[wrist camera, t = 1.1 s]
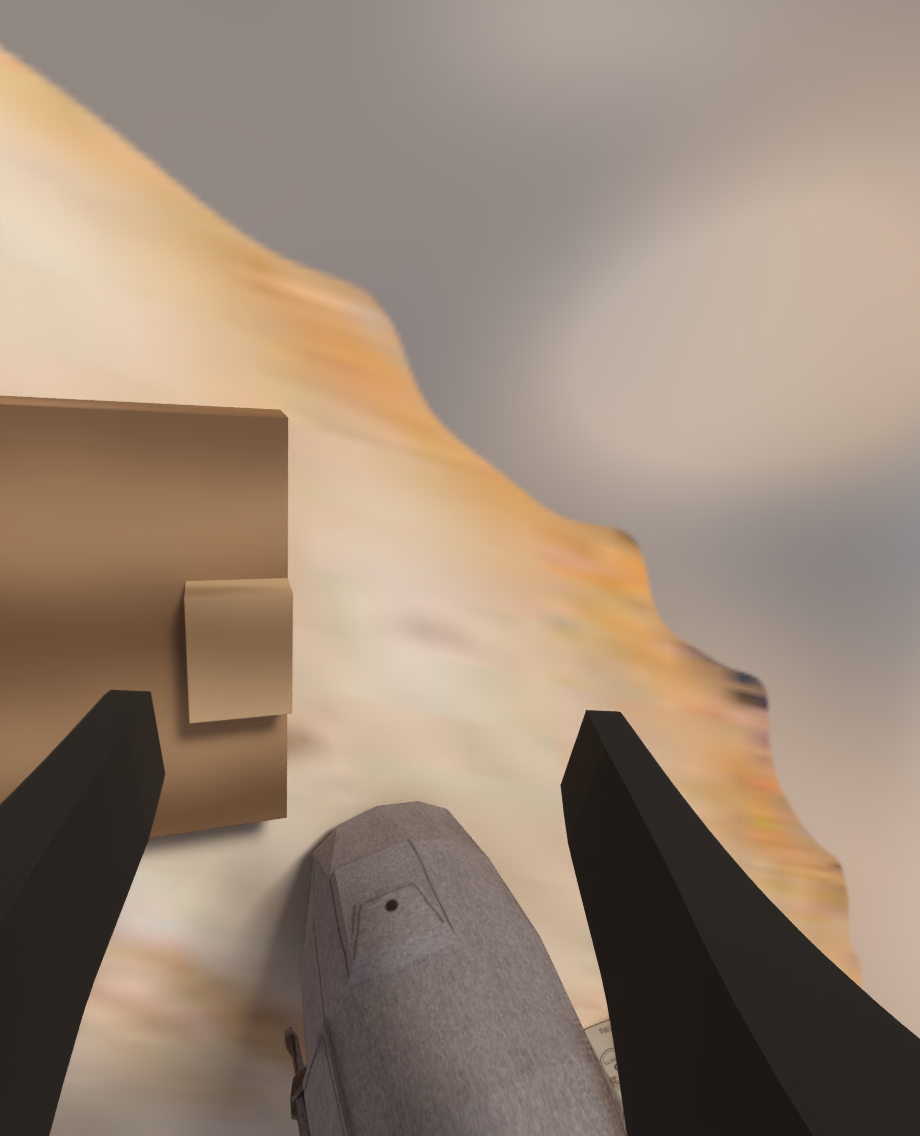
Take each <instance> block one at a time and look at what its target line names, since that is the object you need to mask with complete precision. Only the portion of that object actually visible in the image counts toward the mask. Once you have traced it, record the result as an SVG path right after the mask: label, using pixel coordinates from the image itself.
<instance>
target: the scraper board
mask: <svg viewBox="0 0 920 1136" xmlns="http://www.w3.org/2000/svg"><path fill="white" fill-rule="evenodd" d="M287 577H288V417H287V416H286V415H285V414H284V413H283V412H282V411H281V410H274V409H254V408H234V407H214V406H195V405H175V404H155V403H135V402H115V401H95V400H75V399H55V398H35V397H15V396H0V804H1V803H2V802H3V801H4V800H5V799H6V798H7V797H8V796H9V795H10V794H11V793H12V792H13V791H14V790H15V789H16V788H17V787H18V786H19V785H20V784H21V783H22V782H23V781H24V780H25V779H26V778H27V777H28V776H29V775H30V774H31V773H32V772H33V771H34V770H35V769H36V768H37V766H38V765H39V764H40V763H41V762H42V761H43V760H44V759H45V758H46V757H47V756H48V755H49V754H50V753H51V752H52V751H53V750H54V749H55V748H56V747H57V745H58V744H59V743H60V742H61V741H62V740H63V739H64V738H65V737H66V736H67V735H68V734H69V733H70V732H71V730H72V729H73V728H74V727H75V726H76V725H77V724H78V723H79V722H80V721H81V720H82V718H83V717H84V716H85V715H86V714H87V713H88V712H89V711H90V710H91V709H92V707H93V706H94V705H95V704H96V703H97V702H98V701H99V700H100V699H101V698H102V696H103V695H104V694H106V693H107V692H108V691H110V690H130V691H151V695H152V701H153V707H154V712H155V718H156V724H157V729H158V735H159V741H160V746H161V752H162V758H163V763H164V769H165V778H164V782H163V786H162V790H161V794H160V798H159V802H158V806H157V810H156V814H155V818H154V822H153V825H152V829H151V833H150V836H149V838H151V837H158V836H165V835H172V834H178V833H185V832H192V831H199V830H205V829H212V828H219V827H226V826H232V825H239V824H246V823H253V822H260V821H266V820H273V819H280V818H287V714H291V713H292V631H293V593H292V590H291V587H290V584H289V581H288V578H287Z"/></svg>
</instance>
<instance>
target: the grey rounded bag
mask: <svg viewBox="0 0 920 1136" xmlns="http://www.w3.org/2000/svg"><path fill="white" fill-rule="evenodd" d="M301 983H302V1000H303V1016H304V1033H305V1049H306V1064H305V1065H304V1066H303V1061H302V1056H301V1051H300V1046H299V1041H298V1036H297V1035H296V1034H295V1032H294V1031H293V1029H292V1028H291V1027H290V1028H288V1029H285V1030H284V1031H285V1043H286V1049H287V1050H288V1052H289V1053H290V1055H291V1056H292V1058H293V1064H294V1069H295V1074H296V1076H295V1077H294V1078H293V1083H292V1090H291V1098H290V1102H291V1114H292V1119H295V1120H298V1126H299V1131H300V1136H627V1135H626V1132H625V1130H624V1127H623V1124H622V1122H621V1119H620V1116H619V1113H618V1111H617V1108H616V1105H615V1103H614V1100H613V1097H612V1094H611V1092H610V1089H609V1086H608V1084H607V1081H606V1078H605V1076H604V1073H603V1070H602V1067H601V1065H600V1063H599V1061H598V1059H597V1057H596V1055H595V1053H594V1050H593V1048H592V1046H591V1044H590V1042H589V1040H588V1038H587V1035H586V1033H585V1031H584V1029H583V1027H582V1025H581V1023H580V1021H579V1018H578V1016H577V1014H576V1012H575V1010H574V1008H573V1006H572V1003H571V1001H570V999H569V997H568V995H567V993H566V991H565V989H564V986H563V984H562V982H561V980H560V978H559V976H558V974H557V971H556V969H555V967H554V965H553V963H552V961H551V959H550V956H549V954H548V952H547V950H546V948H545V946H544V944H543V942H542V939H541V937H540V936H539V934H538V933H537V931H536V930H535V928H534V926H533V925H532V923H531V922H530V920H529V919H528V917H527V916H526V914H525V913H524V911H523V910H522V908H521V907H520V905H519V904H518V902H517V901H516V899H515V897H514V896H513V894H512V893H511V891H510V890H509V888H508V887H507V885H506V884H505V882H504V881H503V879H502V878H501V876H500V875H499V873H498V872H497V870H496V869H495V867H494V865H493V864H492V862H491V861H490V859H489V858H488V857H487V856H486V854H485V853H484V852H483V851H482V850H481V849H480V847H479V846H478V845H477V844H476V843H475V841H474V840H473V839H472V838H471V837H470V836H469V834H468V833H467V832H466V831H465V830H464V828H463V827H462V826H461V825H460V824H459V823H458V821H457V820H456V819H455V818H454V817H453V816H452V814H451V813H450V812H449V811H448V810H447V809H444V808H441V807H437V806H433V805H430V804H426V803H422V802H419V801H417V802H408V803H400V804H391V805H383V806H376V807H374V808H372V809H370V810H368V811H366V812H364V813H363V814H361V815H359V816H357V817H355V818H353V819H351V820H349V821H347V822H345V823H343V824H341V825H339V826H337V827H336V828H335V829H334V830H333V831H332V832H331V833H330V834H329V835H328V837H327V838H326V839H325V840H324V841H323V842H322V843H321V844H320V845H319V846H318V847H317V848H316V849H315V850H314V851H313V857H312V872H311V887H310V896H309V905H308V914H307V923H306V931H305V940H304V949H303V958H302V967H301Z"/></svg>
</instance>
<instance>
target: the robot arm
mask: <svg viewBox="0 0 920 1136" xmlns="http://www.w3.org/2000/svg"><path fill="white" fill-rule="evenodd" d="M164 778H165V769H164V763H163V758H162V752H161V746H160V741H159V735H158V729H157V724H156V718H155V712H154V707H153V701H152V695H151V691H130V690H110V691H108V692H107V693H106V694H104V695H103V696H102V698H101V699H100V700H99V701H98V702H97V703H96V704H95V705H94V706H93V707H92V709H91V710H90V711H89V712H88V713H87V714H86V715H85V716H84V717H83V718H82V720H81V721H80V722H79V723H78V724H77V725H76V726H75V727H74V728H73V729H72V730H71V732H70V733H69V734H68V735H67V736H66V737H65V738H64V739H63V740H62V741H61V742H60V743H59V744H58V745H57V747H56V748H55V749H54V750H53V751H52V752H51V753H50V754H49V755H48V756H47V757H46V758H45V759H44V760H43V761H42V762H41V763H40V764H39V765H38V766H37V768H36V769H35V770H34V771H33V772H32V773H31V774H30V775H29V776H28V777H27V778H26V779H25V780H24V781H23V782H22V783H21V784H20V785H19V786H18V787H17V788H16V789H15V790H14V791H13V792H12V793H11V794H10V795H9V796H8V797H7V798H6V799H5V800H4V801H3V802H2V803H1V804H0V1136H49V1134H50V1130H51V1127H52V1123H53V1119H54V1116H55V1112H56V1108H57V1104H58V1101H59V1097H60V1093H61V1090H62V1086H63V1082H64V1079H65V1075H66V1072H67V1068H68V1065H69V1061H70V1058H71V1054H72V1051H73V1047H74V1044H75V1040H76V1037H77V1033H78V1030H79V1026H80V1023H81V1019H82V1016H83V1013H84V1010H85V1007H86V1004H87V1001H88V998H89V995H90V992H91V989H92V986H93V983H94V980H95V978H96V975H97V973H98V970H99V967H100V965H101V962H102V960H103V957H104V954H105V952H106V949H107V947H108V944H109V941H110V939H111V936H112V934H113V931H114V928H115V926H116V923H117V921H118V918H119V915H120V913H121V910H122V908H123V905H124V902H125V900H126V897H127V895H128V892H129V890H130V887H131V884H132V882H133V879H134V876H135V874H136V871H137V868H138V866H139V863H140V861H141V858H142V855H143V853H144V850H145V847H146V845H147V842H148V839H149V836H150V833H151V829H152V825H153V822H154V818H155V814H156V810H157V806H158V802H159V798H160V794H161V790H162V786H163V782H164ZM561 793H562V801H563V810H564V818H565V825H566V832H567V839H568V845H569V849H570V853H571V858H572V862H573V866H574V870H575V874H576V878H577V882H578V886H579V890H580V894H581V898H582V902H583V906H584V910H585V914H586V918H587V922H588V926H589V930H590V934H591V937H592V941H593V945H594V949H595V953H596V957H597V961H598V965H599V969H600V973H601V978H602V982H603V987H604V992H605V996H606V1001H607V1006H608V1012H609V1019H610V1025H611V1031H612V1038H613V1044H614V1050H615V1056H616V1063H617V1069H618V1076H619V1083H620V1090H621V1097H622V1104H623V1112H624V1119H625V1126H626V1133H627V1136H920V1039H919V1038H918V1037H917V1036H916V1035H914V1034H913V1033H912V1032H911V1031H910V1030H908V1029H907V1028H906V1027H905V1026H904V1025H902V1024H901V1023H900V1022H899V1021H898V1020H896V1019H895V1018H894V1017H893V1016H892V1015H891V1014H889V1013H888V1012H887V1011H886V1010H885V1009H884V1008H883V1007H881V1006H880V1005H879V1004H878V1003H877V1002H876V1001H875V1000H873V999H872V998H871V997H870V996H869V995H868V994H867V993H866V992H865V991H863V990H862V989H861V988H860V987H859V986H858V985H857V984H856V983H855V982H854V981H853V980H851V979H850V978H849V977H848V976H847V975H846V974H845V973H844V972H843V971H842V970H840V969H839V968H838V967H837V966H836V965H835V964H834V963H833V962H832V961H830V960H829V959H828V958H827V957H826V956H825V955H824V954H823V953H822V952H821V951H820V950H819V949H818V948H817V947H816V946H815V945H814V944H813V943H812V942H811V941H810V940H808V939H807V938H806V937H805V936H804V935H803V934H802V933H801V932H800V931H799V930H798V928H797V927H796V926H795V925H794V924H793V923H792V922H791V921H790V920H789V919H788V918H787V917H786V916H785V915H784V914H783V913H782V912H781V911H780V910H779V909H778V908H777V907H776V906H775V905H774V904H773V903H772V902H771V901H770V900H769V899H768V898H767V896H766V895H765V894H764V893H763V892H762V891H761V890H760V889H759V888H758V887H757V886H756V884H755V883H754V882H753V881H752V880H751V879H750V878H749V877H748V876H747V874H746V873H745V872H744V871H743V870H742V869H741V867H740V866H739V865H738V864H737V863H736V862H735V860H734V859H733V858H732V857H731V856H730V855H729V853H728V852H727V851H726V850H725V849H724V848H723V846H722V845H721V844H720V843H719V842H718V840H717V839H716V838H715V837H714V836H713V834H712V833H711V832H710V831H709V829H708V828H707V827H706V826H705V824H704V823H703V822H702V821H701V819H700V818H699V817H698V815H697V814H696V813H695V812H694V810H693V809H692V808H691V807H690V805H689V804H688V803H687V801H686V800H685V799H684V798H683V796H682V795H681V794H680V792H679V791H678V790H677V788H676V787H675V786H674V785H673V783H672V782H671V781H670V779H669V778H668V776H667V775H666V774H665V772H664V771H663V770H662V768H661V767H660V766H659V764H658V763H657V762H656V760H655V759H654V757H653V756H652V755H651V753H650V752H649V751H648V749H647V748H646V746H645V745H644V744H643V742H642V741H641V739H640V738H639V737H638V735H637V734H636V732H635V731H634V730H633V728H632V727H631V726H630V724H629V723H628V721H627V720H626V719H625V717H624V716H623V715H622V714H621V712H616V711H593V710H586V712H585V715H584V718H583V721H582V724H581V727H580V730H579V733H578V736H577V739H576V742H575V745H574V747H573V750H572V753H571V756H570V759H569V762H568V765H567V768H566V771H565V774H564V777H563V780H562V783H561Z"/></svg>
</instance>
